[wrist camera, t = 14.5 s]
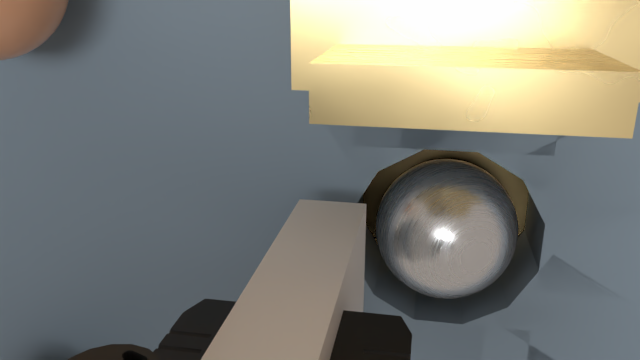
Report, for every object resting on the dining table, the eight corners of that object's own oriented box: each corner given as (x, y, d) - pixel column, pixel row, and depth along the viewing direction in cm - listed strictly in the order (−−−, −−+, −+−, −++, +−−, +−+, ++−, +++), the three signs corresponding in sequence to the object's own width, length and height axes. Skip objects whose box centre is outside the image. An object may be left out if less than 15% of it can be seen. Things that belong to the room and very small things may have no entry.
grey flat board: (-100, 386, 23) (-161, 431, 21) (-241, -134, 17) (-347, -152, 15) (689, 496, 18) (726, 572, 16) (864, -174, 12) (964, -210, 10)
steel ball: (537, 317, 14) (472, 254, 18) (556, 180, 13) (483, 139, 16) (399, 334, 14) (358, 265, 17) (406, 190, 12) (361, 146, 16)
